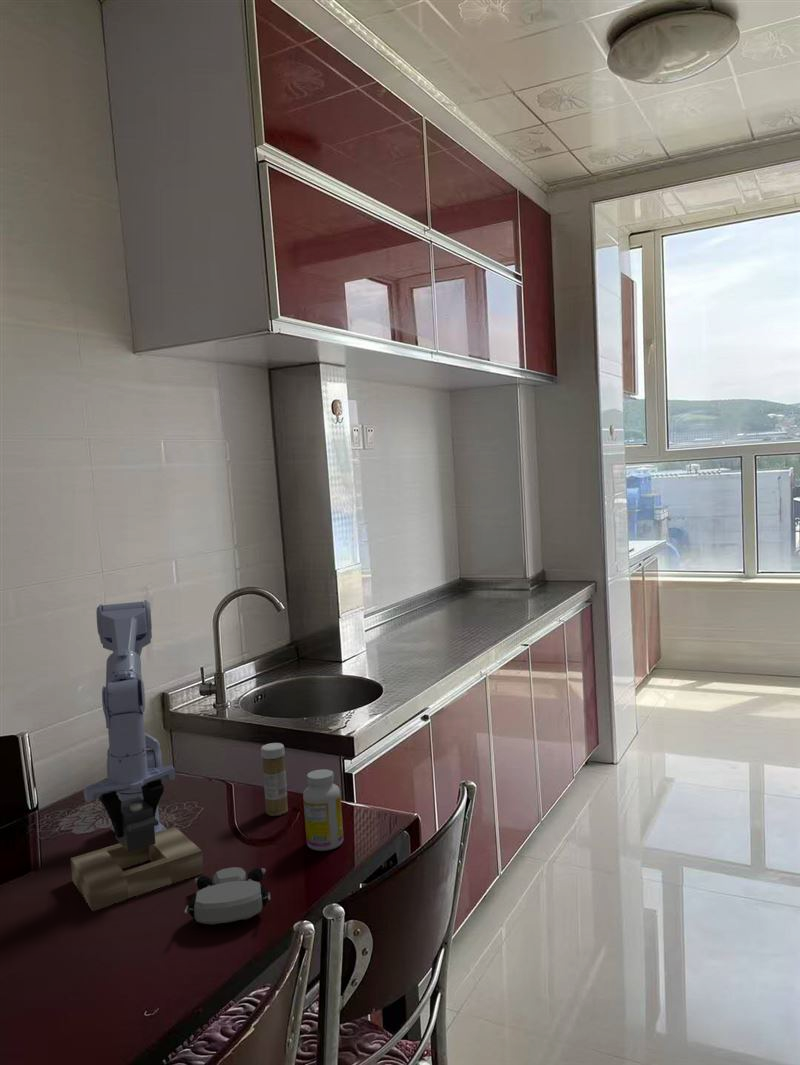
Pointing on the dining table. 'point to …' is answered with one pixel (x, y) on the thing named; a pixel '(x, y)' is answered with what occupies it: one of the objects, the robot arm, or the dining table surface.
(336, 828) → the supplement bottle
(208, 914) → the robot toy
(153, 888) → the tan slotted block
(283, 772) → the sprinkles bottle
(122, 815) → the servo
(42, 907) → the dining table surface
